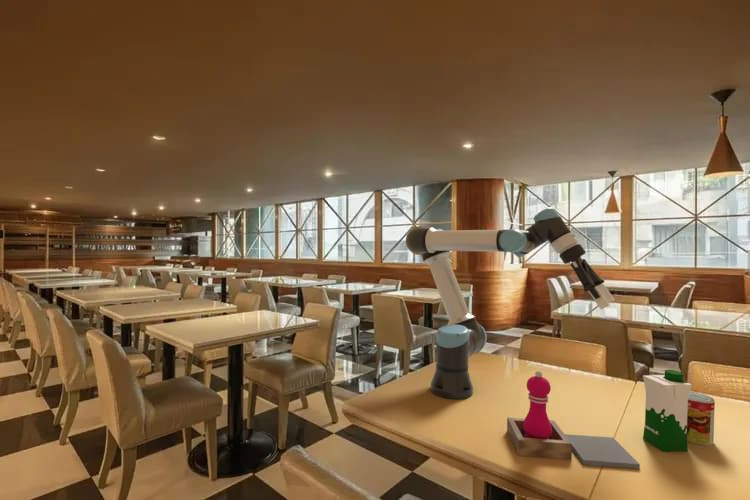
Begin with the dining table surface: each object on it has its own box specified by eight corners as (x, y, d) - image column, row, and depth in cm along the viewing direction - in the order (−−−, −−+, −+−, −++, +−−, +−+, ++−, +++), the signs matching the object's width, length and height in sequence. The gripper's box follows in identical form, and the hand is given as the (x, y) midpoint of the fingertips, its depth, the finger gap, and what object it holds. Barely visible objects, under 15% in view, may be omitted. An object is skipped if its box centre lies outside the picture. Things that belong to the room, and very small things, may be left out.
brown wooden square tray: (518, 455, 99) (518, 440, 99) (506, 431, 112) (507, 417, 112) (571, 459, 98) (572, 443, 97) (553, 434, 110) (554, 420, 110)
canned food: (675, 429, 115) (676, 389, 115) (709, 436, 111) (711, 394, 111) (679, 440, 108) (681, 398, 108) (716, 448, 104) (718, 404, 104)
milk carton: (694, 452, 102) (696, 377, 101) (662, 453, 101) (664, 377, 101) (666, 436, 110) (668, 366, 110) (636, 437, 110) (638, 367, 109)
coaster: (583, 464, 95) (583, 459, 95) (563, 438, 108) (563, 434, 108) (639, 469, 94) (639, 464, 94) (612, 441, 107) (613, 437, 107)
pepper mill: (554, 453, 100) (556, 376, 100) (525, 449, 102) (527, 374, 102) (548, 439, 108) (549, 368, 107) (520, 436, 109) (522, 366, 109)
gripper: (571, 242, 118) (615, 304, 111) (585, 242, 138) (623, 295, 131) (549, 255, 122) (590, 315, 115) (566, 254, 142) (602, 305, 135)
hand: (608, 304), depth 123 cm, fingers open, 13 cm apart
